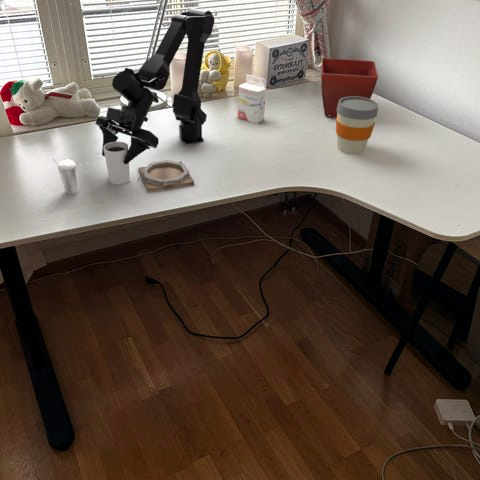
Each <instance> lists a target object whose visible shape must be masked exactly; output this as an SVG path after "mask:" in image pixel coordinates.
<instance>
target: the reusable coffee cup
mask: <svg viewBox="0 0 480 480" xmlns="http://www.w3.org/2000/svg"><path fill="white" fill-rule="evenodd" d="M337 112H338V114H337V118H335V133H336V139H337V140H336V148H337V150H338V151H340V152H341V153H344V154H348V155H360V154H363V153H364V152H365V151H366V148H367V145H368V142H369V139H370V138H371V137H372V134H373V131H374V128H375V124H376V117H377V116H378V112H379V104H378V103H377V101H375V100H374V99H368V98H364V97H357V96H350V97H344V98H341V99H340V100H339V102H338V106H337Z"/></svg>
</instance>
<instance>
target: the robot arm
mask: <svg viewBox="0 0 480 480" xmlns="http://www.w3.org/2000/svg"><path fill="white" fill-rule="evenodd" d="M170 22H171V23H170V25H169V27H168V28H167V30H166V32H165V34H164V36H163V38H162V39H161V42H160V43H159V45H158V47H157V49H156V51H155V52H154V54H153V55H152V56H151V57H150V58H148V59H146V60H145V61H144V63H143V64H142V65H141V67H139V69H138V71H136V72H134V71H135V70H133V69H132V68H129V67H125V68H124V70H122V71H120V72H118V73H117V74H116V75H115V76H113V78H112V82H111V83H112V84H111V85H112V88H113V89H114V90H115V91H116V92H117V93H118V94H119V95H120V96H122V97H123V98H124V99H125V100H127V101H129V102H128V103H127V105H123V106H122V108H121V109H120V108H115V107H110V106H108V107H107V111H106V115H105V116H103V115H100V116H98V117H97V119H96V120H95V123H94V124H95V125H96V126H97V127H98V128H99V130H100V131H101V133H102V149H101V156H103V157H104V158H105V154H104V145H105V144H107V143H110V142H118V139H119V136H117V134H122V135H125V136H126V135H127V136H128V137H130V145H129V147H128V152H127V154H126V157H125V159H124V164H128V163H129V164H130V162H131V161H133V160H134V159H135V158H137V157H138V156H139V155H141V154H142V153H143V152H145V151H146V150H150V149H151V148H153V149H157V148H158V145H159V144H160V143H159V137H157V136H156V135H155V134H154V133H153V132H152V131H151V130H148V129H144V128H142V126H143V124H144V122H145V123H147V122H148V121H149V118H148V117H147V116H148V113H149V111H150V109H151V106H152V105H153V103H156V104H158V103H159V101H160V100H159V98H158V92H155V91H160V90H164V88H165V87H166V85H167V83H168V80H169V78H170V75H171V73H170V67H171V63H172V62H173V60H174V58H175V57H176V54H177V52H178V50H179V48H180V46H181V44H182V42H183V41H184V39H185V37H187V46H186V53H185V54H186V55H185V60H184V61H185V62H184V69H183V75H182V76H183V77H182V84H181V89H180V91H178V93H174V95H173V102H172V105H171V107H172V112H173V114H174V118H175V120H176V121H180V124H179V125H178V133H179V134H178V135H179V138H180V140H182V142H183V143H184V144H190V143H191V144H192V143H200V142H204V141H205V140H204V137H203V125H205V124H204V123H206V121H207V114H206V113H205V111H204V110H203V109H202V98H201V97H200V94H199V83H200V80H201V79H200V78H201V71H202V64H203V59H204V58H203V57H204V52H205V51H204V50H205V44H206V42H207V41H208V39H209V38H210V37H211V36H212V32H213V29H214V25H215V16H214V15H213V12H212V11H211V10H208V9H207V10H206V9H201V8H195V7H191V8H189V9H188V11H187V10H186V11H181V12H180V13H177V14H174V15H173V16H172V17H171V21H170ZM150 89H151V90H155V91H151V90H150Z"/></svg>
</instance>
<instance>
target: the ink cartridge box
mask: <svg viewBox="0 0 480 480" xmlns="http://www.w3.org/2000/svg"><path fill="white" fill-rule="evenodd" d="M255 80H256V81H255ZM266 83H267V79H266V78H262V77H260V76H259V77H258V76H255V75H250V74H245V82H244V83H242V84H240V85H239V86H238V99H237V100H238V101H237V103H238V104H237V119H241V120H243V121H247V122H251V123H254V124H259V123H260V122H262V121H263V120H265V109H266V92H267V86H266Z"/></svg>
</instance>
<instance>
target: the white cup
mask: <svg viewBox="0 0 480 480" xmlns="http://www.w3.org/2000/svg"><path fill="white" fill-rule="evenodd" d="M128 150H129V145H128V143H126V142H124V141H116V142H110V143H107V144H105V145H104V154H105V157H104V158H105V163H106V169H107V170H106V171H107V173H108V174H107V175H108V180H109V182H110V183H111V184H114V185H124V184H126V183H128V182H129V181H131V175H130V173H131V172H130V162H129V163H128V164H124V159H125V157H126V154H127V152H128Z"/></svg>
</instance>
